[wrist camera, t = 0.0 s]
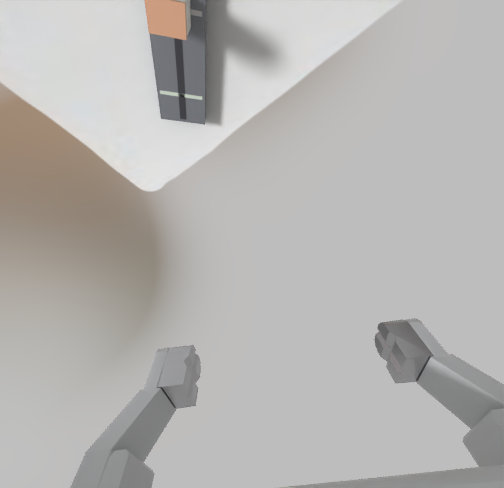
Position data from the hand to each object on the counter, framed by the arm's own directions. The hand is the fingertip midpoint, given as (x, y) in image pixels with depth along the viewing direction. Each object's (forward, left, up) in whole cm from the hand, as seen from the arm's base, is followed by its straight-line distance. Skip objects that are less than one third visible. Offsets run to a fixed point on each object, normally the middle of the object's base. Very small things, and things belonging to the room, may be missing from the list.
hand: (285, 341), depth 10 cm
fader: (0, -11, -49) cm, 50 cm away
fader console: (+4, -9, -52) cm, 53 cm away
